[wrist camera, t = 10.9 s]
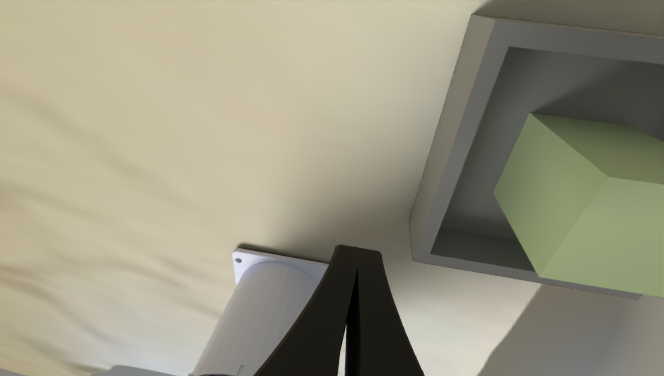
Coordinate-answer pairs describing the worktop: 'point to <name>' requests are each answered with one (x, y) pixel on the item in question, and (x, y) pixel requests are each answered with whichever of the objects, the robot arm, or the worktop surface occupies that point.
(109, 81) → the worktop surface
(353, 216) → the worktop surface
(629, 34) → the bin
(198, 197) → the worktop surface
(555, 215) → the light green block
